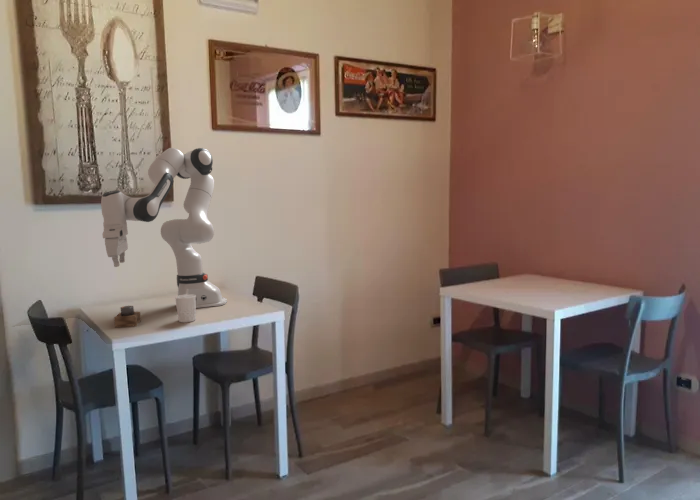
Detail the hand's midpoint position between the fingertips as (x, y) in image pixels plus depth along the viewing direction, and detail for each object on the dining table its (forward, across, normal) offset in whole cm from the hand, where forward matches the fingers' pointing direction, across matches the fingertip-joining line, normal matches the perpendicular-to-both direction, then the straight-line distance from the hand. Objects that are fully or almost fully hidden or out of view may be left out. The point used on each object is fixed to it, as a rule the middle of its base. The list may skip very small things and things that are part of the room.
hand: (119, 264), depth 233 cm
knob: (+22, +10, +3) cm, 24 cm away
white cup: (+23, +11, +26) cm, 37 cm away
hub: (+23, +10, +3) cm, 25 cm away
